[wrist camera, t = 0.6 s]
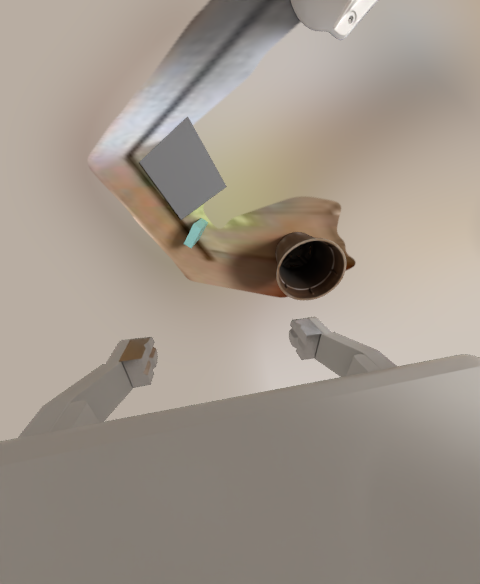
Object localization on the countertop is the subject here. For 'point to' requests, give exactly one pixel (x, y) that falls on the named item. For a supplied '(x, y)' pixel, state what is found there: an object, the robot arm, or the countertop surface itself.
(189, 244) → the teal board
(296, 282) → the plant pot
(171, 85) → the countertop surface
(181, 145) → the mat
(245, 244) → the countertop surface
